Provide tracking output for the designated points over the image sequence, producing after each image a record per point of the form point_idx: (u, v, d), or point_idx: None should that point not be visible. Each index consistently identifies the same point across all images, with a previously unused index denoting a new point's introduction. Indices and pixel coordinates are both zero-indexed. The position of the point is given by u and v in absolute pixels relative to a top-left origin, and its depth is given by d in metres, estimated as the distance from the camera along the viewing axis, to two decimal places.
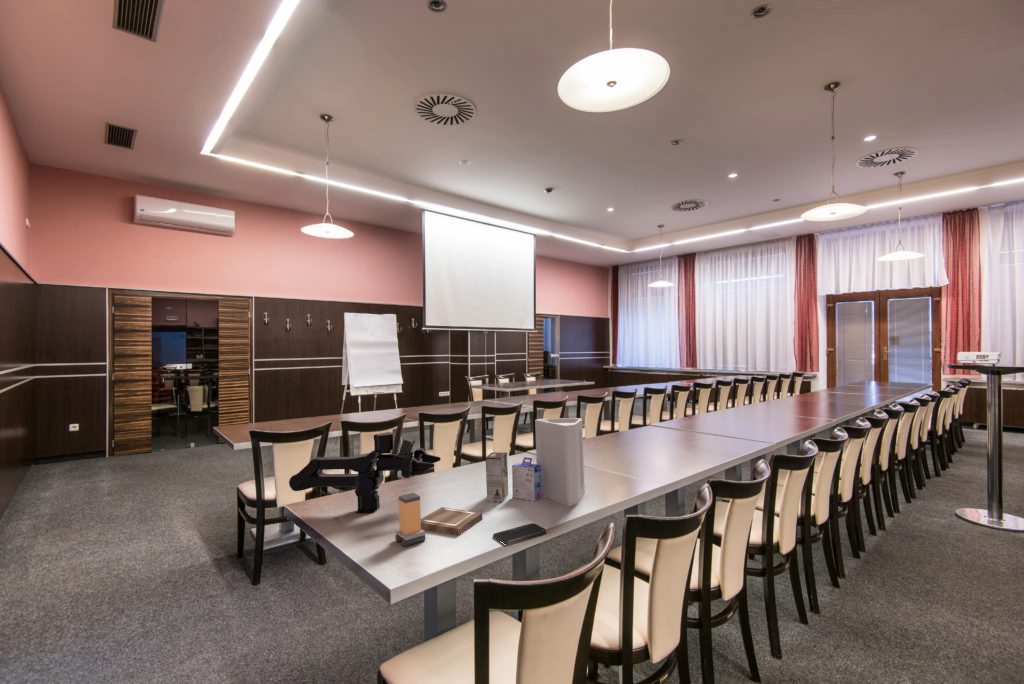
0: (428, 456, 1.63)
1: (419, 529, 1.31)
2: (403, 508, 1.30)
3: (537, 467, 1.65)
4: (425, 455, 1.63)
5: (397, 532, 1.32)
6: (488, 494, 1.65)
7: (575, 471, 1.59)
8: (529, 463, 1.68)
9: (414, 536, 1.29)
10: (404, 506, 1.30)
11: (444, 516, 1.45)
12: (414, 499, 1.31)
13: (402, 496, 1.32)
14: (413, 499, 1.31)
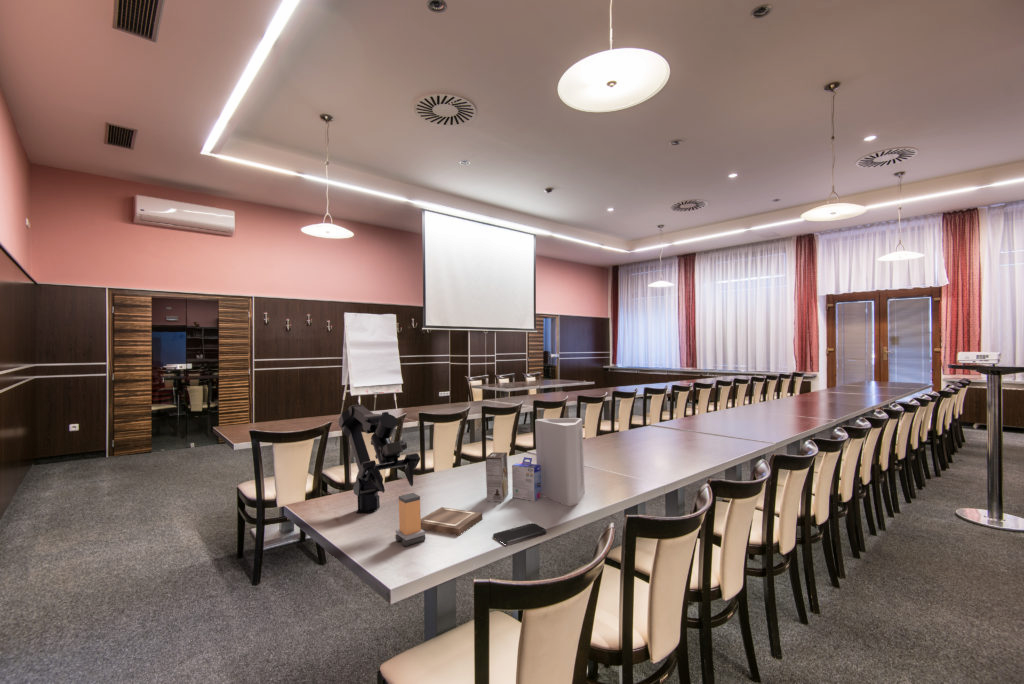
0: (409, 471, 1.44)
1: (419, 529, 1.31)
2: (403, 508, 1.30)
3: (537, 467, 1.65)
4: (408, 468, 1.44)
5: (397, 532, 1.32)
6: (488, 494, 1.65)
7: (575, 471, 1.59)
8: (529, 463, 1.68)
9: (414, 536, 1.29)
10: (404, 506, 1.30)
11: (444, 516, 1.45)
12: (414, 499, 1.31)
13: (402, 496, 1.32)
14: (413, 499, 1.31)
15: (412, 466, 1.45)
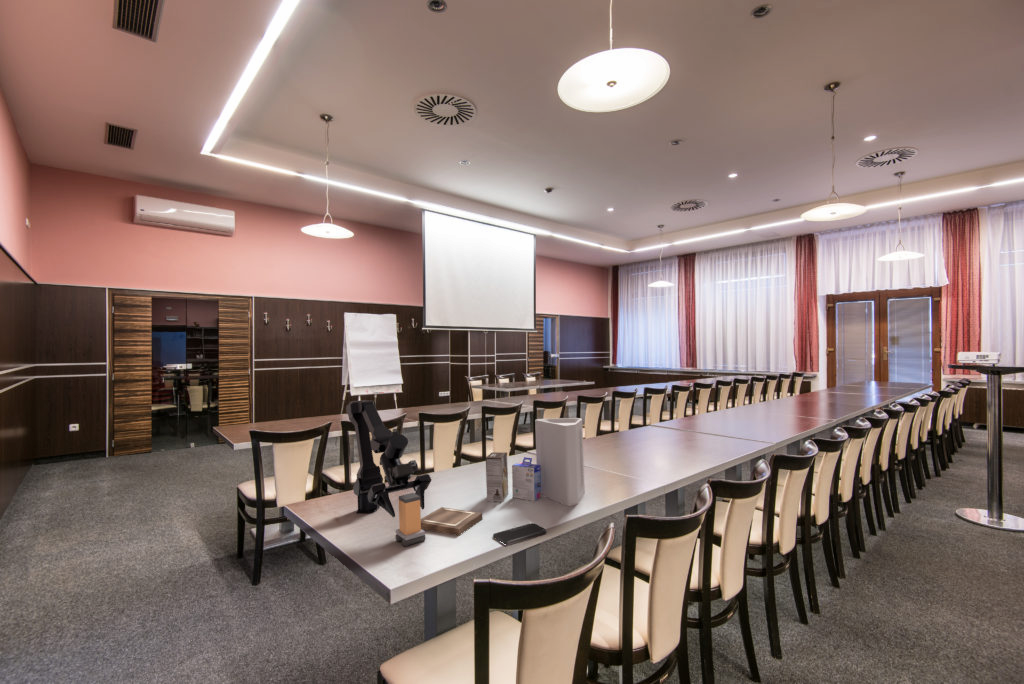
0: (419, 494, 1.37)
1: (419, 529, 1.31)
2: (403, 508, 1.30)
3: (537, 467, 1.65)
4: (419, 490, 1.38)
5: (397, 532, 1.32)
6: (488, 494, 1.65)
7: (575, 471, 1.59)
8: (529, 463, 1.68)
9: (414, 536, 1.29)
10: (404, 506, 1.30)
11: (444, 516, 1.45)
12: (414, 499, 1.31)
13: (402, 496, 1.32)
14: (413, 499, 1.31)
15: (423, 488, 1.38)
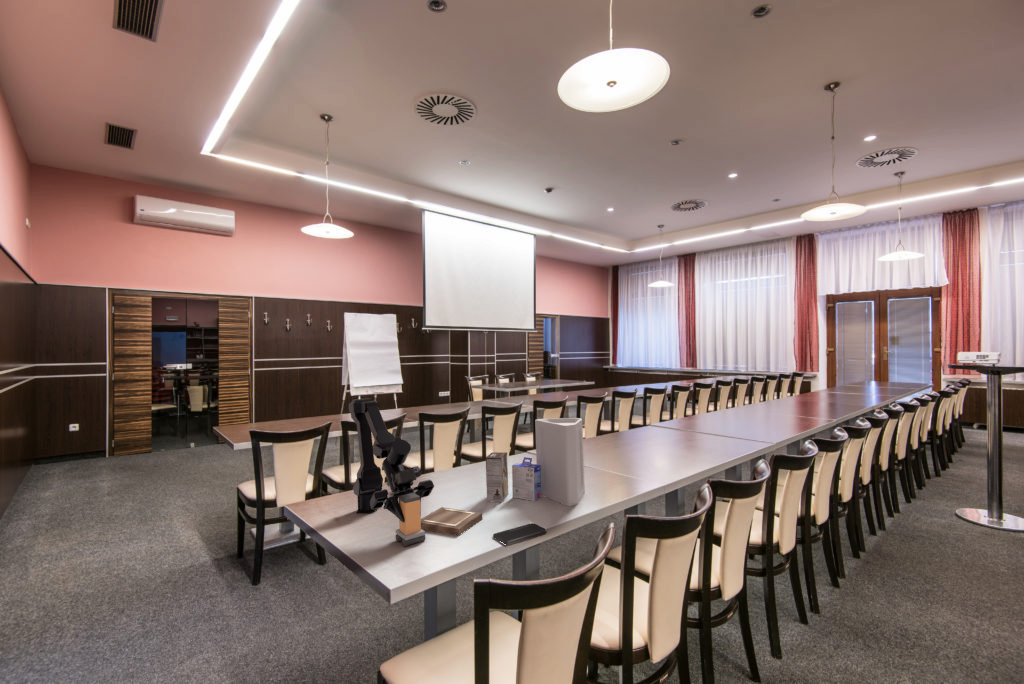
0: None
1: (419, 529, 1.31)
2: (403, 508, 1.30)
3: (537, 467, 1.65)
4: None
5: (397, 532, 1.32)
6: (488, 494, 1.65)
7: (575, 471, 1.59)
8: (529, 463, 1.68)
9: (414, 536, 1.29)
10: (404, 506, 1.30)
11: (444, 516, 1.45)
12: (414, 499, 1.31)
13: (402, 496, 1.32)
14: (413, 499, 1.31)
15: None
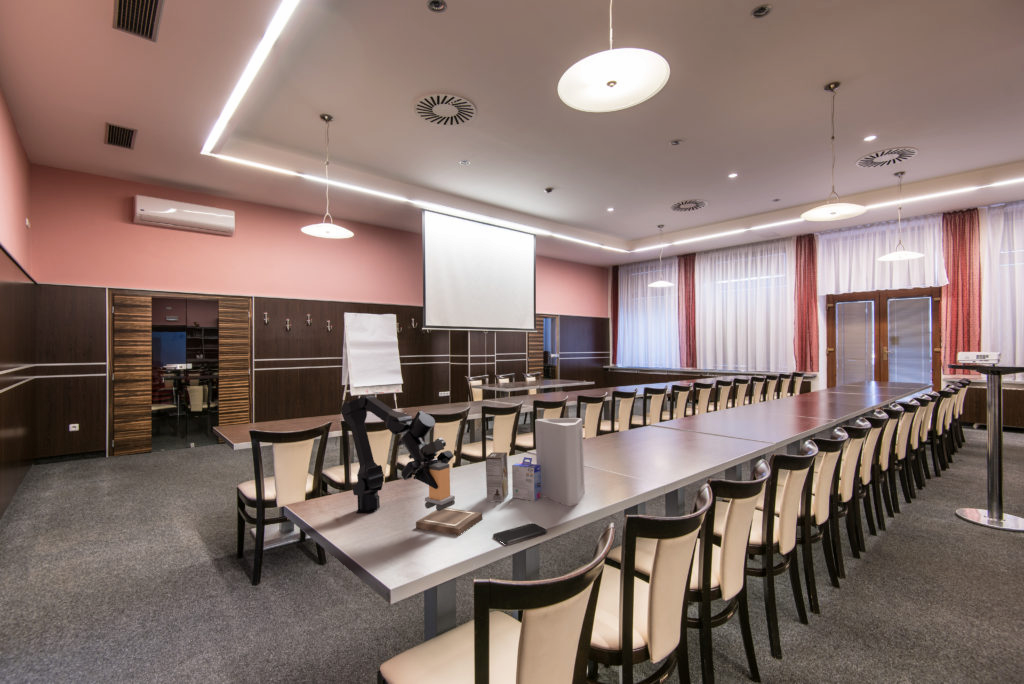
0: None
1: (449, 494, 1.41)
2: (436, 475, 1.38)
3: (537, 467, 1.65)
4: None
5: (427, 500, 1.39)
6: (488, 494, 1.65)
7: (575, 471, 1.59)
8: (529, 463, 1.68)
9: (447, 501, 1.38)
10: (437, 473, 1.38)
11: (444, 516, 1.45)
12: (445, 467, 1.40)
13: (432, 465, 1.40)
14: (445, 467, 1.40)
15: None
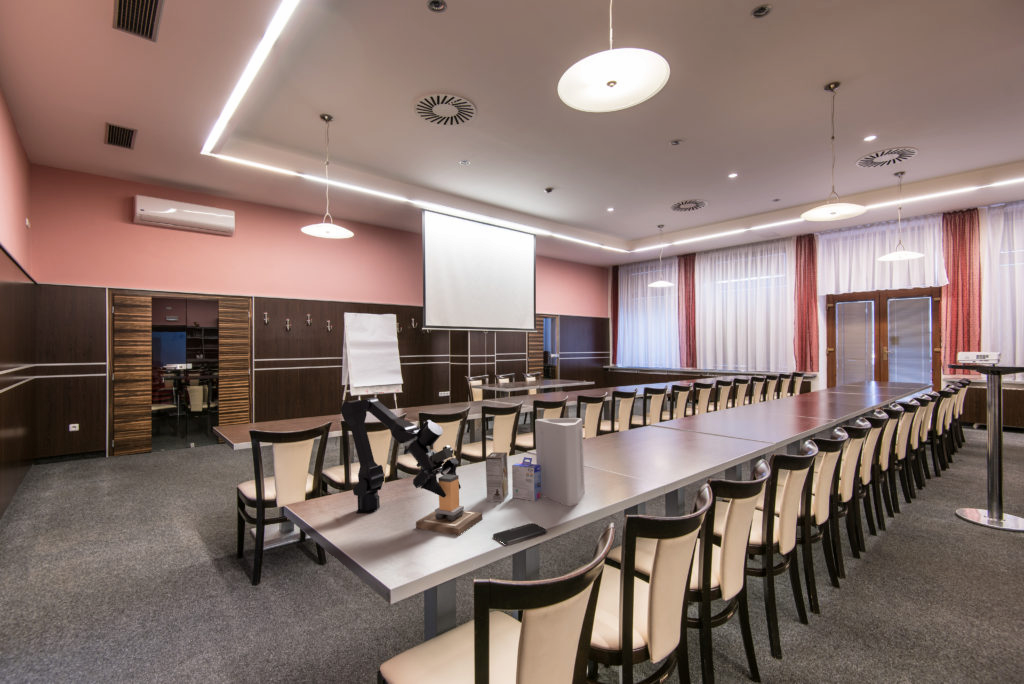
0: None
1: (458, 505, 1.45)
2: (447, 487, 1.42)
3: (537, 467, 1.65)
4: (452, 472, 1.50)
5: (438, 511, 1.43)
6: (488, 494, 1.65)
7: (575, 471, 1.59)
8: (529, 463, 1.68)
9: (458, 511, 1.43)
10: (448, 485, 1.42)
11: None
12: (455, 478, 1.44)
13: (442, 477, 1.44)
14: (455, 478, 1.44)
15: (455, 470, 1.50)
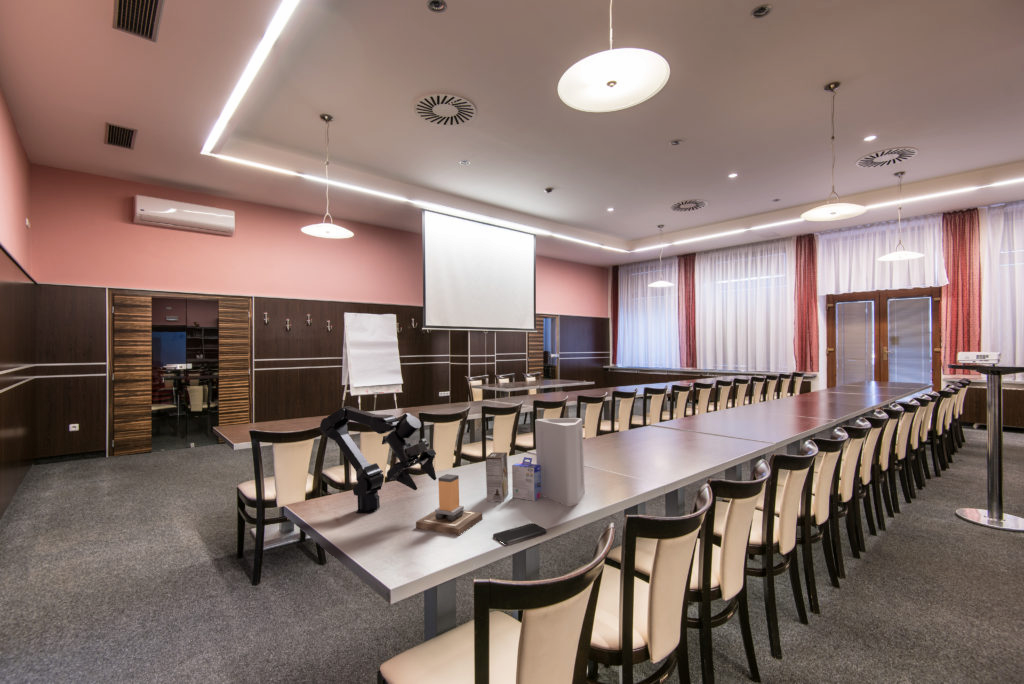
0: (429, 467, 1.54)
1: (458, 505, 1.45)
2: (447, 487, 1.42)
3: (537, 467, 1.65)
4: (428, 463, 1.54)
5: (438, 511, 1.43)
6: (488, 494, 1.65)
7: (575, 471, 1.59)
8: (529, 463, 1.68)
9: (458, 511, 1.43)
10: (449, 485, 1.42)
11: None
12: (455, 478, 1.44)
13: (442, 477, 1.44)
14: (455, 478, 1.44)
15: (432, 462, 1.55)
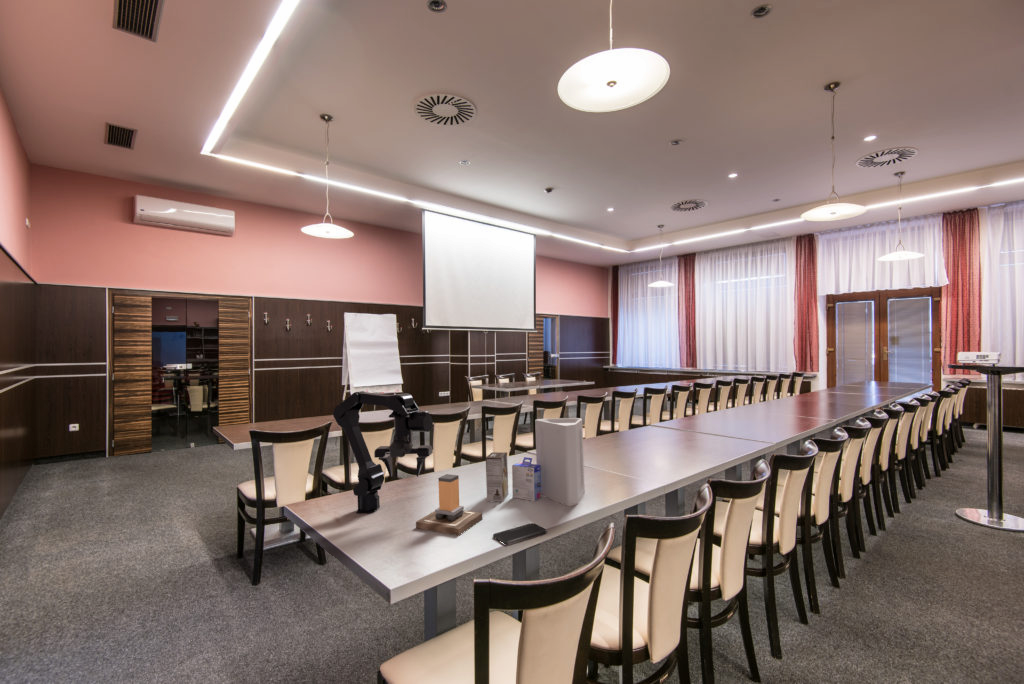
0: None
1: (458, 505, 1.45)
2: (447, 487, 1.42)
3: (537, 467, 1.65)
4: (417, 460, 1.52)
5: (438, 511, 1.43)
6: (488, 494, 1.65)
7: (575, 471, 1.59)
8: (529, 463, 1.68)
9: (458, 511, 1.43)
10: (449, 485, 1.42)
11: None
12: (455, 478, 1.44)
13: (442, 477, 1.44)
14: (455, 478, 1.44)
15: (420, 461, 1.52)
